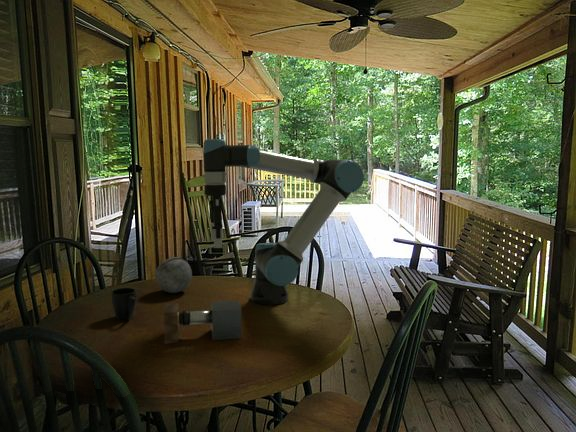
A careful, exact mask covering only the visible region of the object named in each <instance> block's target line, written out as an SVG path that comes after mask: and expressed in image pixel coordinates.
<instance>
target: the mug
mask: <svg viewBox="0 0 576 432" xmlns="http://www.w3.org/2000/svg"><path fill="white" fill-rule="evenodd" d="M110 295H111V296H110V299H111V300H110V301H111V307H112V310H113V314H114V316H115V319H117V320H121V321H122V320H123V321H124V320H130V319H132V318H133V316H134V312H135V309H136V304H137V290H136V289H135V288H133V287H120V288H117V289H113V290H112V291H111V293H110Z"/></svg>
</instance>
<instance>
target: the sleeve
mask: <svg viewBox="0 0 576 432" xmlns="http://www.w3.org/2000/svg"><path fill="white" fill-rule="evenodd" d="M210 305H211V306H210V310H212V323H210V326H211V328H210V329H211V337H212V341H221V340H232V339H233V340H236V339H242V306H241V303H240V301H239V300H238V299H237V300H223V301H222V300H219V301H218V300H217V301H216V300H215V301H210Z"/></svg>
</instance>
